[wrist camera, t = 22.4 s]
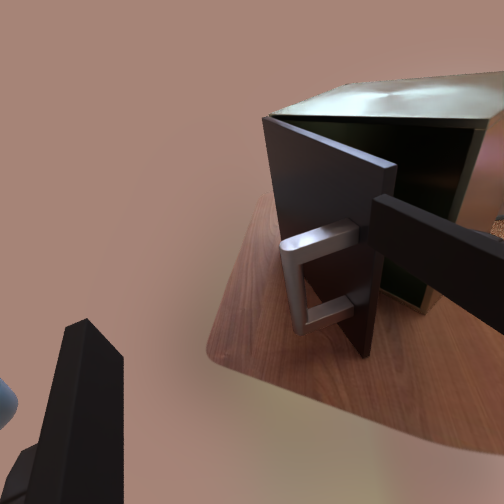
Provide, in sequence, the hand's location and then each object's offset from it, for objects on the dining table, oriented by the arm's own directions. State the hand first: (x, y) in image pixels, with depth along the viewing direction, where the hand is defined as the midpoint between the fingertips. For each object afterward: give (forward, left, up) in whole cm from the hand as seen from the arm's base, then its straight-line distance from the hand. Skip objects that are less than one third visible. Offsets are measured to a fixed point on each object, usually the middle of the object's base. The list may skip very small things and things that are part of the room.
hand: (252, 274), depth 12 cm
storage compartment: (+27, +19, -23) cm, 41 cm away
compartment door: (+10, +17, -23) cm, 30 cm away
